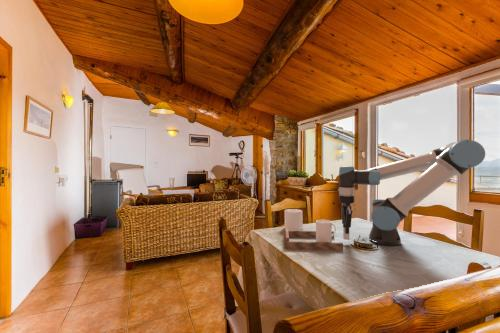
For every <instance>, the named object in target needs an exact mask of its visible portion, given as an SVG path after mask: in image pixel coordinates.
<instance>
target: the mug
mask: <svg viewBox="0 0 500 333" xmlns="http://www.w3.org/2000/svg"><path fill="white" fill-rule="evenodd" d="M332 228H333V229H334V233H333V234H332V231H333V230H332ZM336 230H337V229H336V226H335V224H334V223H332V221H331V220H329V219H316V220H315V231H316V238H315V242H332V241H333V238H332V236H334V237H335V234H336Z"/></svg>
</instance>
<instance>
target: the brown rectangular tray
mask: <svg viewBox="0 0 500 333" xmlns="http://www.w3.org/2000/svg"><path fill="white" fill-rule="evenodd" d="M333 233H334V231H333V230H332V234H333ZM284 237H285V249H286V250H287V249H288V250H313V251H314V250H315V251H316V250H318V251H341V252H343V251H344V243H343V242H334V241H333V242H316V241H306V240H305V241H303V240H300V241H299V240H298V241H297V240H290V238H310V237H312V238H313V239H316V230H300V231H299V230H288V228H285V227H284ZM334 238H335V235H334V236H332V239H334Z"/></svg>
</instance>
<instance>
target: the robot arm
mask: <svg viewBox="0 0 500 333" xmlns="http://www.w3.org/2000/svg"><path fill="white" fill-rule="evenodd" d="M485 158H486V150H485V148H484V146H483V145H482V144H481V143H479V142H478V141H476V140H472V139H460V140H458V141H455V142H450V143H448V144H446V145H444V146H442V147H439V148H435V149H433V150H431V151H430V152H429V153H425V154H424V153H423V154H421V155H417V156H413V157H409V158H405V159H401V160H398V161H394V162H391V163H390V162H389V163H387V164H382V165H379V166H376V167H371V168H366V169H365V170H364V169H362V170H361V169H355V167H354V166H352V165H351V166H349V165H348V166H347V165H345V166H344V165H343V166H339V170H338V189H337V191H338V202H339V203H341V204H342V205H340V209H341V223H342V224H341V225H342V227H343V228H342V229H343V234H342V238H343V240H349V241H350V228H352V216H353V210H352V206H351V204H354V203H355V196H354V195H355V185H364V186H378V185H380V184H381V182H380V181H384V180H387V179H392V178H396V177H401V176H405V175H408V174H412V173H417V172H422V171H424V172H422V173H421V174H420V175H419V176H418V177H416V178H415V179H414V180H413V181H412V182H411V183H409V184H408V185H407V186H405V187H404V188H403V189H402V190H400V191H399V192H398V193H397V194H396V195H394V196H393V197H387V198H386V199H379V198H377V199H376V198H374V199H372V203H371V205H372V212H371V221H372V227H371V230H370V232H369V234H368V240H369V239H371V240H374V241H377V243H378V244H377V245H381V246H390V247H396V246H400V245H401V243H402V242H401V241H402V239H401V237H400V233H399V231H398V227H399V226H400V224H401V222H402V221H404V220H405V219H406V218H408V216H409V211H410V210H412V209H413V208H414V207H416V206H417V205H418V204H419V203H420V202H422V201H423V200H424V199H426V198H427V197H428V196H430V195H431V194H432V193H434V192H435V191H437V189H438V188H440V187H441V186H443V185H444V184H445V183H447V181H449V180H450V179H451V178H453V177H454V176H462V175H463V174H465V173H466V172H467V171H469V170H470V169H471V168H475V167H478V166H479V165H480V164H481V163H482V162H483V161H484V160H485Z"/></svg>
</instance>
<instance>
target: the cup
mask: <svg viewBox="0 0 500 333" xmlns="http://www.w3.org/2000/svg"><path fill="white" fill-rule="evenodd" d="M303 214H304V213H303V209H297V208H287V209H284V229H285V228H288V230H300V231H303V227H304V226H303V224H304V223H303V222H304V221H303Z"/></svg>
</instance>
